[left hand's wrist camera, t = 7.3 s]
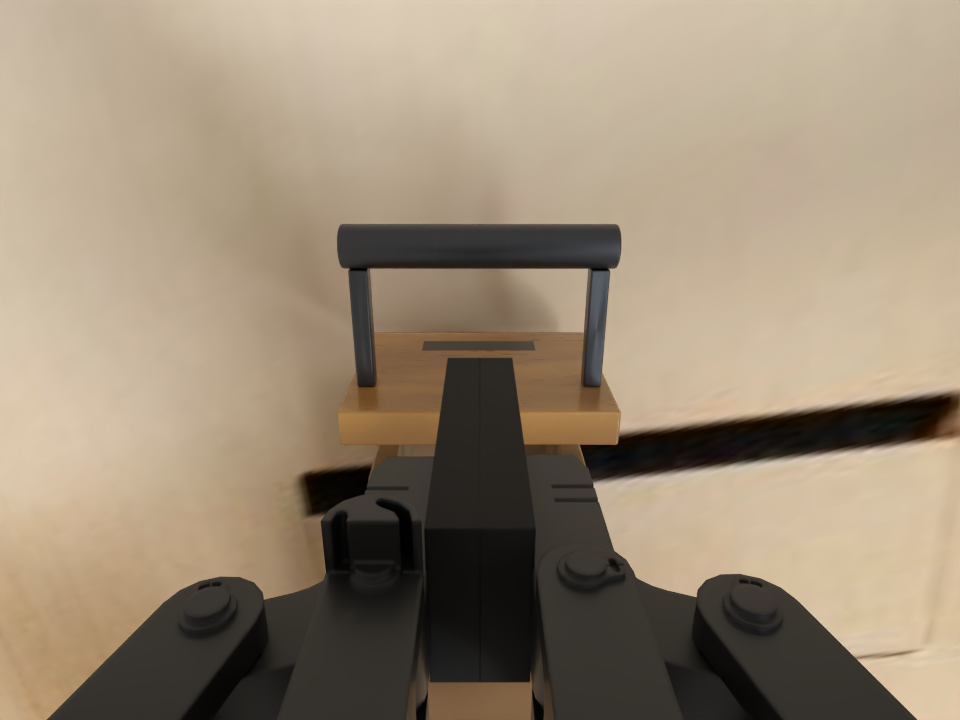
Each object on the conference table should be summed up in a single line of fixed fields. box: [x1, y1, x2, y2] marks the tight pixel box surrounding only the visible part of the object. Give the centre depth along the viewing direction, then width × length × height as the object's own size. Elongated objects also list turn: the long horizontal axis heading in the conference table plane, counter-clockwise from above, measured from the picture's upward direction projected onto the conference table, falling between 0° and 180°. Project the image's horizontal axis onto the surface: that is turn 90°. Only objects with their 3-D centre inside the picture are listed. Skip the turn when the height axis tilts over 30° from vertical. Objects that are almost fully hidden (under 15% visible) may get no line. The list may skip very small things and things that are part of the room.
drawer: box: [337, 224, 621, 481], centre depth 26 cm, size 26×9×7 cm, turn 0°
